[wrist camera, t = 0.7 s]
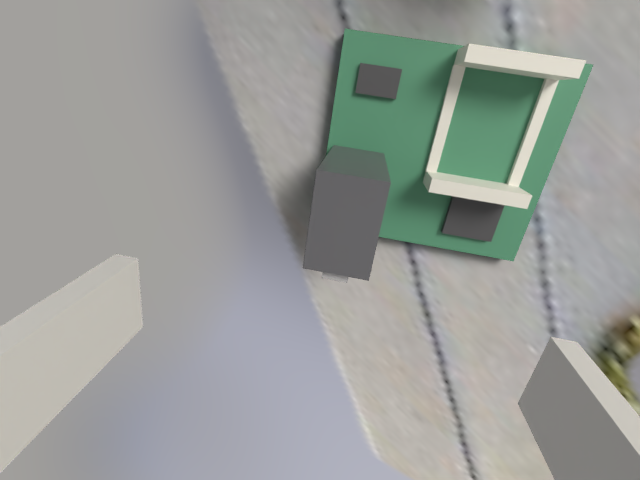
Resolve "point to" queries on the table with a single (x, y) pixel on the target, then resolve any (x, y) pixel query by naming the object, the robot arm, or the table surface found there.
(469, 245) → the board
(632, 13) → the table surface
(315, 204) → the plug
